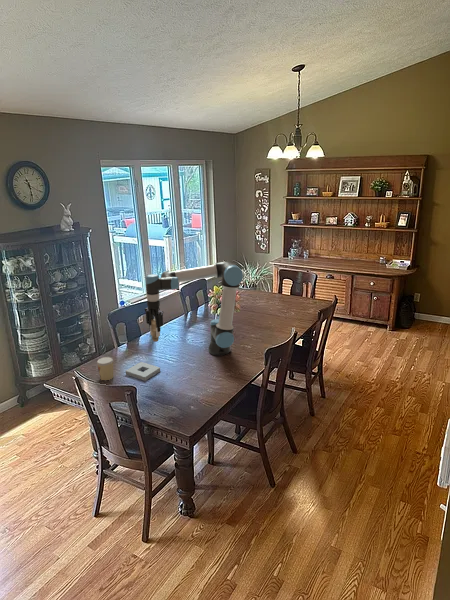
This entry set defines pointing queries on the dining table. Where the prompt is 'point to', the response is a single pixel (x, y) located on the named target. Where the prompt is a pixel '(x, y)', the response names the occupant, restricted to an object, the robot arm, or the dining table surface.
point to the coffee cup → (105, 368)
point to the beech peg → (154, 330)
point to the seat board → (145, 375)
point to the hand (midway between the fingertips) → (155, 335)
